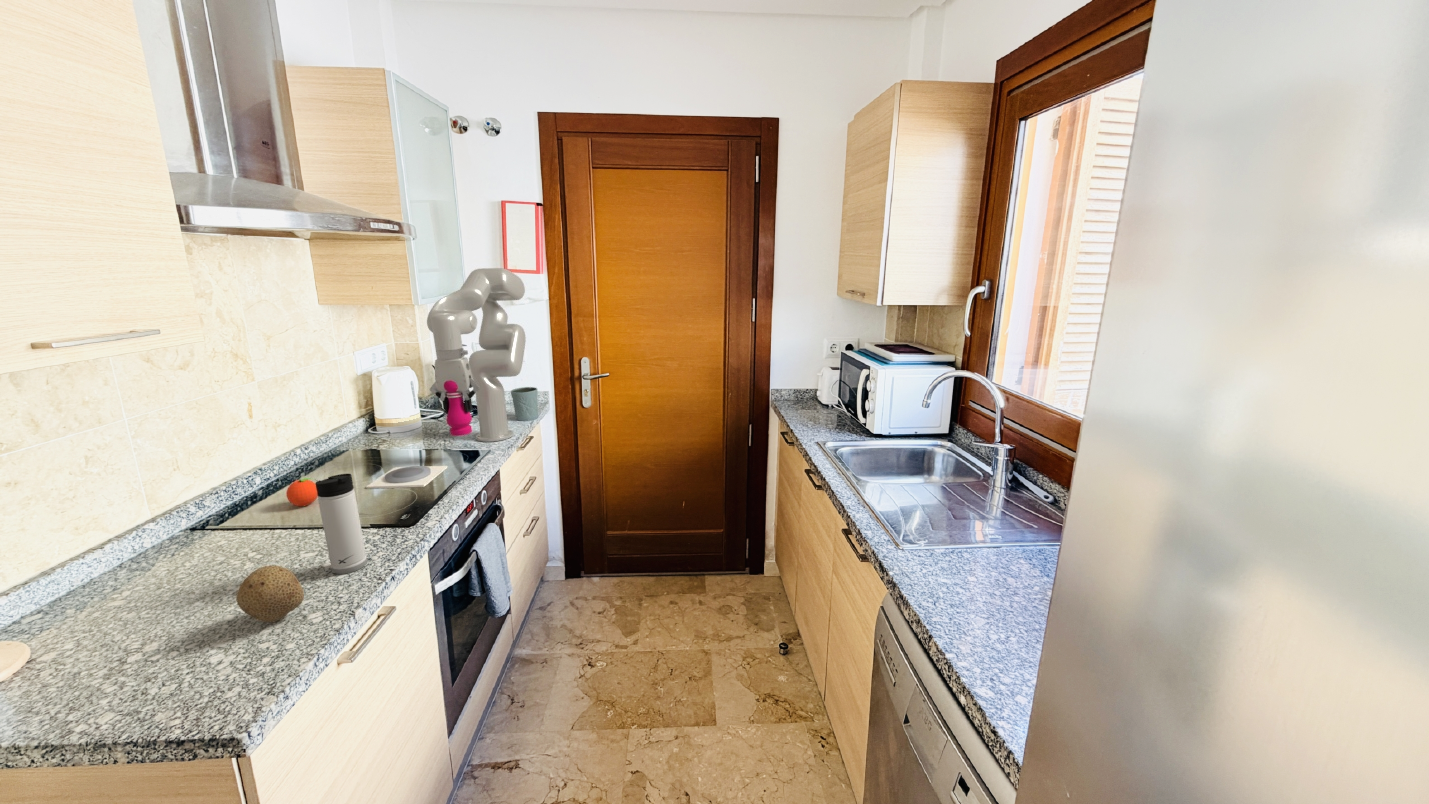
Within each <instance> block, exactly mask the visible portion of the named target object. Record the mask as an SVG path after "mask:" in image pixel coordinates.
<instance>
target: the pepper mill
mask: <svg viewBox="0 0 1429 804" xmlns="http://www.w3.org/2000/svg"><path fill="white" fill-rule="evenodd" d="M444 389H445V390H446V391H447V392H446V394H447V397H448V399H449V411H448V413H446V423H447V425H448V426H449V427H450V429H449V432H450V435H451V436H454V437H461V436H467V435H469V434H471V433H472V432H473V428H472V425H470V424H471V422H472V420H473V417H472V414H471V412H468V413H466V412H465V406H464V395H463V393H462V391H460V392H458V391H456V390H457V389H458V386H457V384H456V383H455V382H454V381H446V382H445V383H444Z"/></svg>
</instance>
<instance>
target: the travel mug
mask: <svg viewBox="0 0 1429 804" xmlns="http://www.w3.org/2000/svg"><path fill="white" fill-rule="evenodd" d="M352 477H353V476H352V473H340V474H335V475H331V476H328V477H327V478H324V479H322V480H316V482H314V483H315V484H316V489H317V496H318V497H317V502H318V506H319V511H320V516H321V520H322V526H323V532H324V538H325V543H326V547H327V552H328V557H329V563H330V569H331V572H332V573H334V574H337V575H344V574H345V575H346V574H350V573H353V572H357V571H359V570H360V569H362V568H364V567H365V566H366V565H367V563H368V559H367V556H366V549H365V542H364V537H363V531H362V526H361V525H362V524H361V521H360V515H359V509H358V508H359V507H358V503H357V497H356V496H357V495H356V492H355V487H354V484H353V483H354V482H353V478H352Z"/></svg>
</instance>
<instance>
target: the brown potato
mask: <svg viewBox="0 0 1429 804" xmlns="http://www.w3.org/2000/svg"><path fill="white" fill-rule="evenodd" d="M304 592H305V591H304V590H303V587H302V584H301V583H300V581H299V580H298V578H297V577H296V575H295V574H294V573H293V572H292V571H291V570H289V569H288V568H286V567H284V566H279V565H278V566H277V565H264V566H262V567H259V568H257V569H255V570H254V571H252V572H251V573H250V574H249V575H247V577H245V579H244V580H243V581H242V582H241V584H240V585H239V587H238V590H237V592H236V593H237V594H236V603H237V606H238V607H239V608H240V609H241V611H242V612H244V613H245V614H246V615H248V616H250V617H251V618H253V619H255V620H257V621H259V622H263V623H274V622H277V621H280V620H282V619H283V618H285V617H286V616H287V615H288V614H289V613H291V612H292V611H294V610H295V609H297V608H298V607H299V606H300V605H301V604H302V603H303V601H304V599H305V597H304V596H305V593H304Z"/></svg>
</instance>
